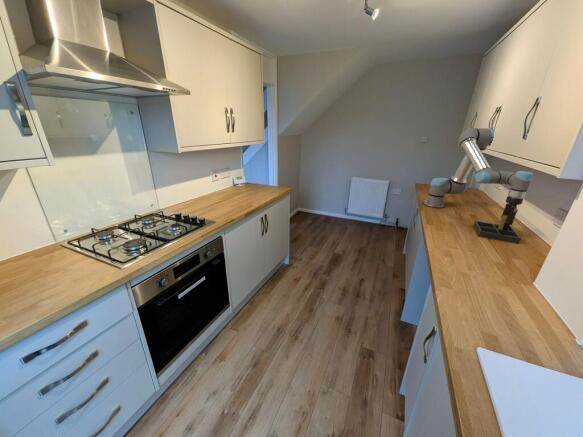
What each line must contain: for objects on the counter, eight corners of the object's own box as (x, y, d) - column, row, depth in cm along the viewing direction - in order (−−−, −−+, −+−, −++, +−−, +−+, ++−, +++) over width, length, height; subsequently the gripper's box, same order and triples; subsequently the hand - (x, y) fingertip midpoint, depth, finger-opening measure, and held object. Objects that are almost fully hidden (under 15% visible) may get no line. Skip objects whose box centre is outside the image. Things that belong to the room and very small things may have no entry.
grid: (473, 225, 164) (475, 220, 162) (509, 231, 155) (511, 226, 154) (478, 236, 148) (480, 231, 146) (518, 243, 140) (521, 238, 138)
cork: (510, 234, 150) (516, 218, 146) (499, 233, 151) (505, 217, 147) (504, 230, 155) (510, 214, 151) (494, 229, 156) (499, 213, 152)
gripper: (503, 192, 154) (491, 225, 163) (512, 200, 138) (498, 235, 147) (518, 194, 151) (505, 227, 159) (529, 202, 135) (514, 238, 144)
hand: (502, 231), depth 153 cm, fingers closed on cork, 6 cm apart
